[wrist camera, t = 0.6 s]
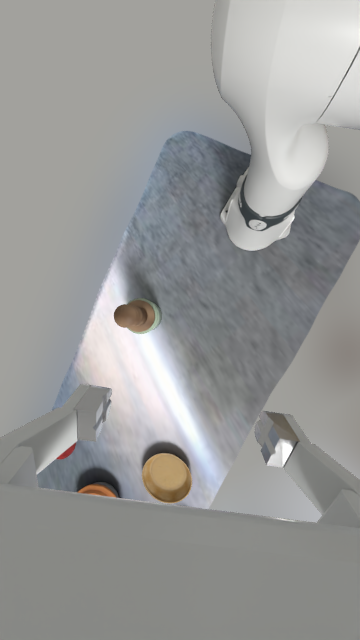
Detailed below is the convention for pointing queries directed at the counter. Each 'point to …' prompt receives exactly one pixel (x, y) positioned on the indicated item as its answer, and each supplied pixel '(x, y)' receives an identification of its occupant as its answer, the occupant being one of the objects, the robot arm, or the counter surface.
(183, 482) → the plant saucer
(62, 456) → the onion
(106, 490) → the pie
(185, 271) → the counter surface
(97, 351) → the counter surface
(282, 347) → the counter surface
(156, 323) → the canister
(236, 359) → the counter surface
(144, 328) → the lid
